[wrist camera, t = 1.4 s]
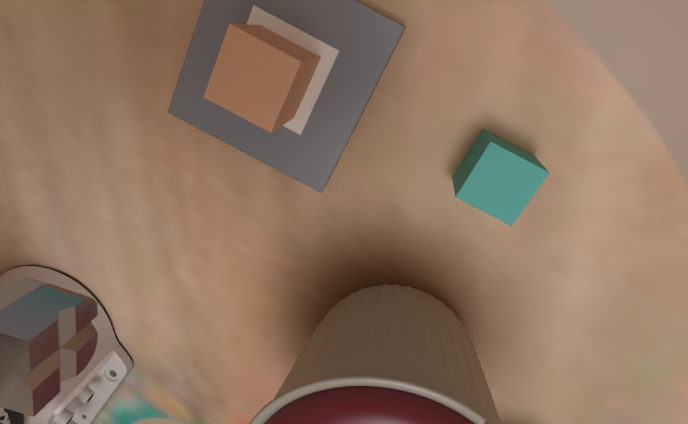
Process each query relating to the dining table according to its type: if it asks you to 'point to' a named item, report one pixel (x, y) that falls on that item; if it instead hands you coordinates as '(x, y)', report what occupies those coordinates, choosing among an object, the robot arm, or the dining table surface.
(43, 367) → the robot arm
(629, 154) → the dining table surface
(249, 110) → the terracotta block
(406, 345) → the canister
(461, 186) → the teal block
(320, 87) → the baseplate
